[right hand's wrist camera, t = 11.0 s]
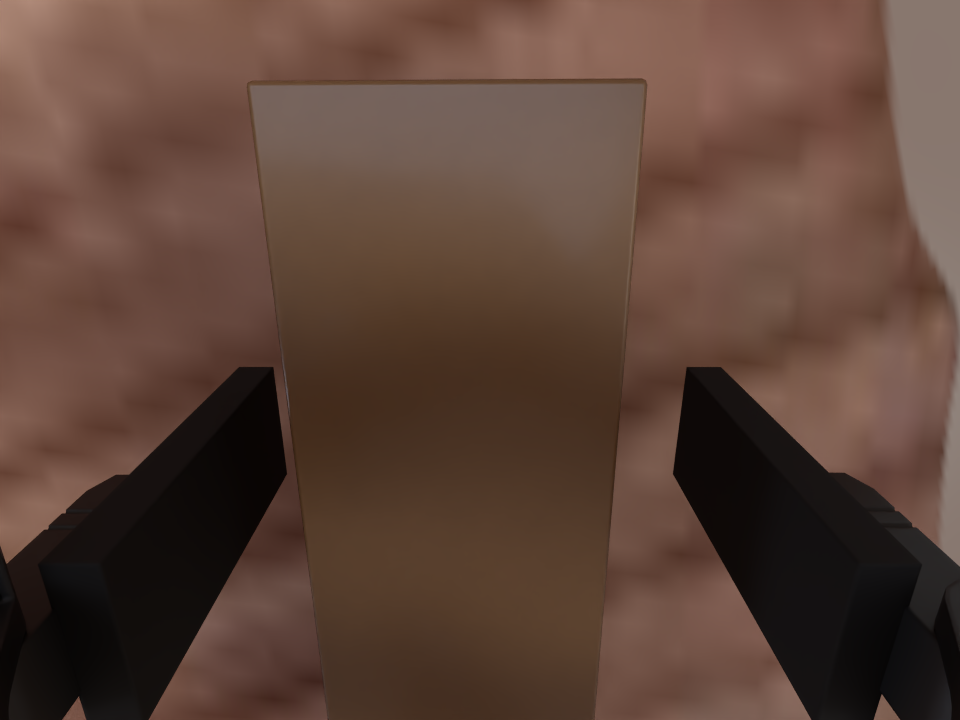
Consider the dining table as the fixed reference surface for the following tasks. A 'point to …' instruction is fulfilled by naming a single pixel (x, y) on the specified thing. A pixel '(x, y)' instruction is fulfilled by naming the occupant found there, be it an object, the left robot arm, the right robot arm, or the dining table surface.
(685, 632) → the dining table surface
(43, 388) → the dining table surface
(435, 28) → the dining table surface
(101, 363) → the dining table surface
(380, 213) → the bar
